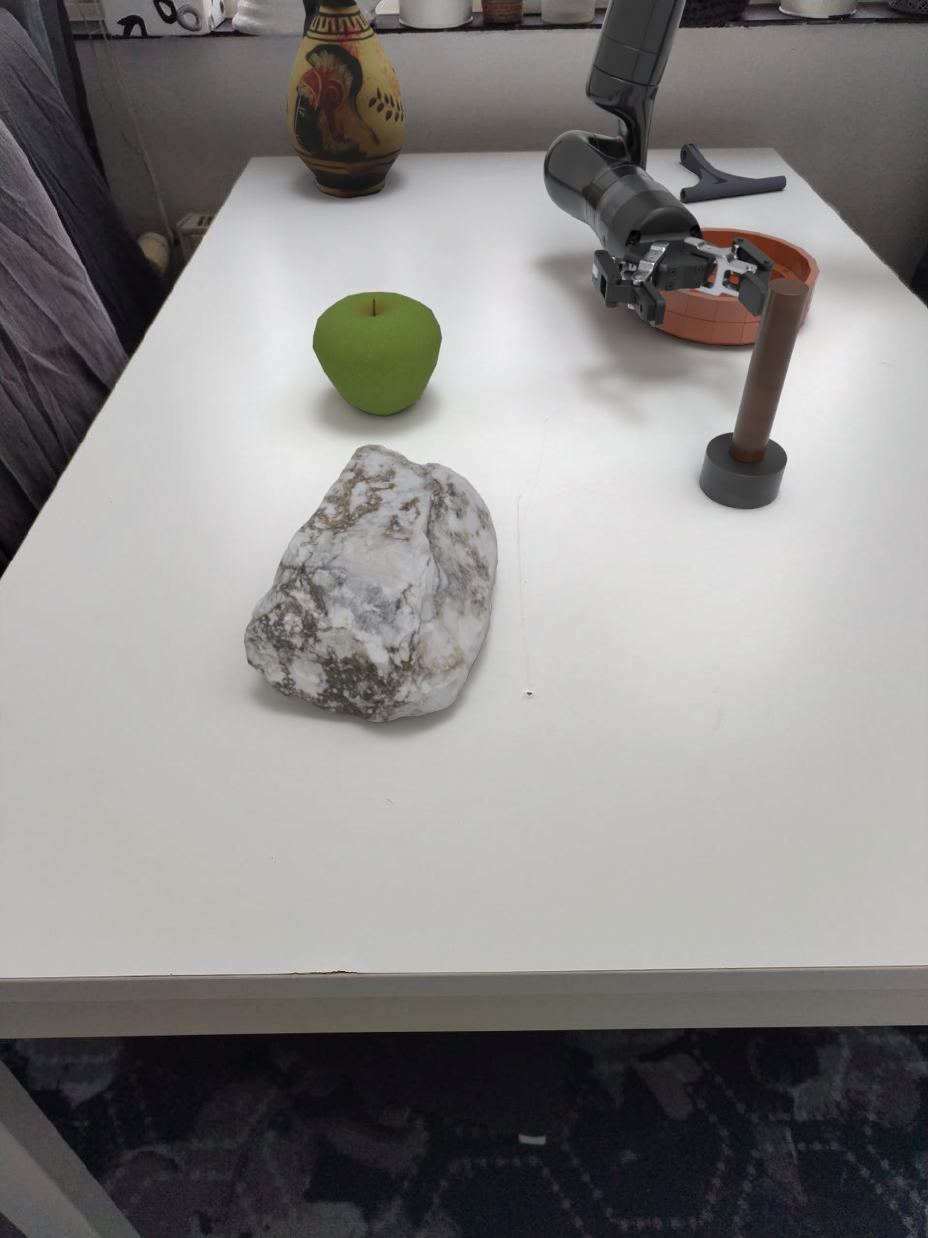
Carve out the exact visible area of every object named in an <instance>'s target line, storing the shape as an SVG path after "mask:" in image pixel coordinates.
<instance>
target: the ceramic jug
mask: <svg viewBox="0 0 928 1238" xmlns="http://www.w3.org/2000/svg"><path fill="white" fill-rule="evenodd" d="M301 1H302V4H303V8H304V9H303V10H304V13H305V17H304V23H303V32H302V41H301V44H300V46H299V48H298V52H297V55H296V58H295V60H294V63H293V66H292V70H291V73H290V77H289V82H288V87H287V94H286V109H285V111H286V123H287V131H288V136H289V139H290V143H291V146H292V147H293V150H294V151H295V153H296V155H297V156H298V157H299V159H300V160H301V161H302V163H304V165H305V166H306V167H307V168H308V169H309V170H310V171H311V173H312V174H314V176H315V178H314V183H315V185H316V186H317V187H318V189H319V190H320V191H321V192H322V193H323V192H324V193H326V194H329V195H332V196H336V197H339V198H345V199H347V198H348V199H349V198H352V197H358V196H365V197H366V196H369V195H374V194H376V193H379V192H381V191H382V188H384V187H385V185H386V183H385V179H386V176H387V175H388V174H389V171H390V170H391V168H392V167H393V165H394V163H395V162H396V160H397V159H398V157H399V156H400V153H401V151H402V148H403V143H404V140H405V135H406V134H405V133H406V114H405V107H404V102H403V97H402V93H401V89H400V86H399V81H398V79H397V76H396V72H395V69H394V67H393V66H392V64H391V62H390V59H389V58H388V56H387V54H386V52H385V50H384V48H383V47H382V44H381V42H380V40H379V39H378V37H377V35H376V33H375V31H374V30H373V28H372V27H371V25H370V23H369V22H368V20H366V18H365V16H364V14H363V13H362V11H361V10H360V7H359V5H358V2H356V1H355V0H301Z"/></svg>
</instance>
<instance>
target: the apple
mask: <svg viewBox="0 0 928 1238" xmlns="http://www.w3.org/2000/svg"><path fill="white" fill-rule="evenodd" d="M442 334H443V333H442V329H441V325H440V323H439V321H438V319H437V317H436V315H435V314H434V312H433V310H432V309H431V308H430V307H429V306H427V305H425V304H424V303H422V302H421V301H419V300H417V299H414V298H412V297H410V296H407V295H404V294H400V293H398V292H389V291H364V292H359V293H354V294H350V295H349V294H348V295H347V296H345V297H343V298H341V299H339V300H337V301H336V302H334V303H333V304H332V305H330V306H329V307H327V308H326V309H325V310H324V312H322V313H321V315H319V317H318V318H317V319H316V324H315V327H314V330H313V334H312V350H313V352H314V354H315V357H316V358H317V360H318V363H319V365H320V366H321V369H322V371H323V373H324V374H325V376H326V377H327V378H328V380H329V381H330V383H331V384H332V385H333V387H334V388H335V390H336V391H337V392H338V394H339V395H340V396H341V398H343V399H344V401H345V402H347V403H348V404H349V405H351V406H353V407H356V408H357V409H359V410H361V411H364V412H365V413H366V414H367V413H368V414H369V415H373V416H374V415H375V416H378V417H379V416H380V417H381V416H382V417H383V416H386V417H387V416H392V415H395V414H398V413H399V412H401V411H402V410H404V409H406V408H407V407H409V406H410V405H412V404H413V403H415V402H417V401H418V400H420V399H421V397H422V396H423V393H424V392H425V391H426V388H427V386H428V384H429V382H430V379H431V377H432V375H433V373H434V371H435V369H436V367H437V364H438V360H439V355H440V352H441V346H442V342H443V341H442V340H443V335H442Z"/></svg>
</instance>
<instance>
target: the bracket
mask: <svg viewBox="0 0 928 1238" xmlns="http://www.w3.org/2000/svg"><path fill="white" fill-rule="evenodd" d="M679 159H680V163H681V165H683V167H685V168H687V169H688V170H689V171H691V172H692V173H694V174H695V175H697V176H698V177H699V178H701V179H700V180H699V182H698V183H696V184H695V185H694V186H688V187H682V188H681V190H680V192H679V199H680V202H681V203H687V202H688V203H689V202H697V201H704V200H711V199H718V198H719V199H720V198H727V197H732V196H733V197H734V196H742V195H751V194H758V193H766V192H772V191H781V190H782V191H783V190H785V188H786V186H787V177H786V175H777V176H776V175H775V176H767V177H761V178H754V177H748V176H747V177H746V176H740V175H736V174H732V173H729V172H725V171H722V170H719V169H717V168H715V167H714V166H713V165H712V164H711V163H710V162H709V161H708V160H707V159H706V157H705V156H704V155H703V153H702V152H701V151H700V150H699V148H698V146H697V145H696V143H695V142H692V143H691V142H689V143H685V144H683V145H682V146H681V149H680V153H679Z"/></svg>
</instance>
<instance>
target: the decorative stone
mask: <svg viewBox="0 0 928 1238" xmlns="http://www.w3.org/2000/svg"><path fill="white" fill-rule="evenodd" d="M350 457H351V458H350V459H349V461H348V462H347V464H346V465H345V467H344V468H343V469H342V470H341V472H340V474H339V477H338V478H337V479H336V480H335V482H333V484H332V485H331V486H330V487H329V488H328V490H327V491H326V492H325V495H324V497H323V498H322V501H321V502H320V504H319V505H318V508H317V509H316V510H315V512H314V513H313V514H312V515H311V517H309V519H308V520H307V521H306V522H305V523H304V524H302V526H301V527H299V529H297V530H296V532H295V533H294V534H293V536H292V537H291V539H290V541H289V543H288V545H287V547H286V548H285V550H284V552H283V554H282V557H281V558H280V562H279V564H278V567H277V569H276V572H275V575H274V579H273V582H272V585H271V587H270V588H269V589H268V591H267V592H266V593H265V595H264V596H263V597H261V598H260V599H258V601H257V603H256V605H255V606H254V607H253V609H252V612H251V617H250V620H249V622H248V624H247V626H246V627H245V632H244V638H243V639H244V640H243V643H244V649H245V654H246V661H247V664H248V665H249V666H250V667H252V668H253V669H254V670H255V671H256V672H258V673H259V674H260V676H261V675H262V677H263V678H265V680H267V682H269V684H270V686H271V688H272V689H273V690H274V691H276V692H277V693H278V694H281V695H282V696H285V697H288V698H289V697H291V696H294V695H295V696H297V697H299V698H301V699H302V700H304V701H305V702H306V703H309V704H311V705H313V706H315V707H317V708H320V709H322V710H325V711H328V712H331V713H334V714H335V713H336V714H340V715H341V714H343V715H344V714H345V715H348V714H349V715H352V716H358V717H360V718H362V719H364V720H365V721H368V722H374V723H383V722H389V721H393V720H397V719H400V718H403V717H418V716H422V715H427V714H431V713H434V712H438V711H441V710H444V709H447V708H448V707H450V706H451V705H452V704H454V703H455V701H456V699H457V698H458V696H459V694H460V691H461V689H462V687H463V686H464V684H465V682H466V680H467V678H468V675H469V672H470V670H471V667H472V666H473V664H474V662H475V659H476V657H477V656H478V653H479V652H480V650H481V648H482V646H483V644H484V642H485V640H486V637H487V634H488V632H489V629H490V625H491V624H490V623H491V614H492V610H491V609H492V608H491V607H492V605H491V604H492V594H493V589H494V586H495V584H496V577H497V567H498V563H499V553H498V547H499V546H498V538H497V532H496V528H495V525H494V522H493V518H492V515H491V512H490V510H489V507H488V505H487V503H486V502H485V500H484V499H483V497H482V495H480V493H479V492H478V490H477V489H476V488H475V486H474V485H473V484H472V483H471V482H470V481H469V480H468V479H467V478H466V477H465V476H463V475H462V474H460V473H458V472H457V471H455V470H453V468H450V467H448V466H445V465H443V464H441V463H439V462H427V463H426V464H425V463H424V464H419V463H417V462H414V461H411V460H409V459H408V458H407V456H406V455H403V454H402V453H400V452H399V451H396V450H393V449H390V448H386V447H385V446H383V445H381V444H373V443H368V444H364V445H363V446H359V447H357V448H356V449H355V452H354V453H353V454H352V456H350Z"/></svg>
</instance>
